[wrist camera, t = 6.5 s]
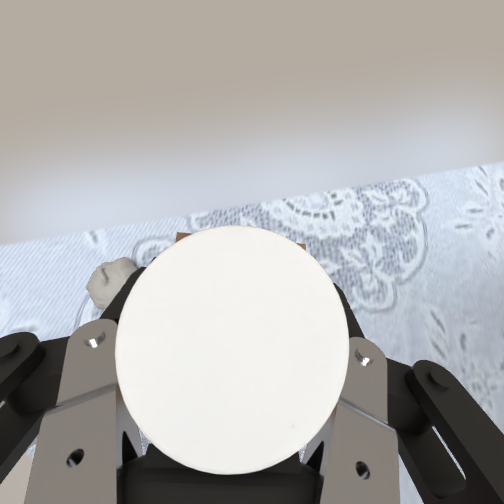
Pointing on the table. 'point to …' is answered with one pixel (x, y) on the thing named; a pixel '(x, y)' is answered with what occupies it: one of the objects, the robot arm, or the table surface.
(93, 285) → the garlic
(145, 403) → the pill bottle
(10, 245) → the table surface
